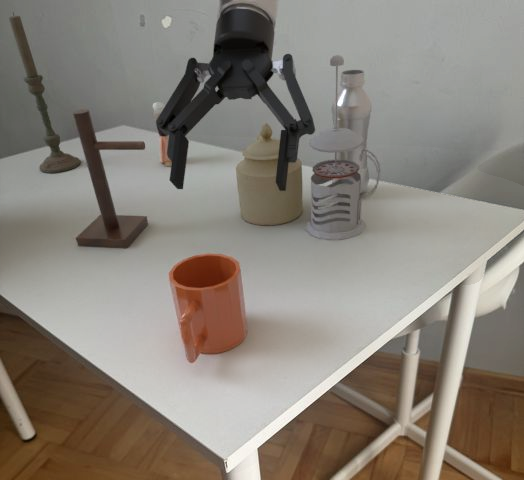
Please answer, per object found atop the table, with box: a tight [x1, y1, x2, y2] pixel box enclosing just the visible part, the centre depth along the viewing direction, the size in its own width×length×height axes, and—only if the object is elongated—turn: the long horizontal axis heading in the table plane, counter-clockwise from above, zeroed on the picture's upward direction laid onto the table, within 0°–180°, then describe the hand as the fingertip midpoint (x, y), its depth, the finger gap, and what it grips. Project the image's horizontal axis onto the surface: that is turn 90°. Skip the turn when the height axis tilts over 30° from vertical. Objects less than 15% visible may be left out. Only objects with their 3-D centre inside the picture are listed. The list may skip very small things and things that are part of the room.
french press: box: [305, 54, 382, 241], centre depth 80 cm, size 10×12×25 cm
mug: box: [168, 252, 248, 364], centre depth 63 cm, size 12×8×9 cm, turn 167°
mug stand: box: [72, 108, 149, 249], centre depth 85 cm, size 14×9×20 cm, turn 77°
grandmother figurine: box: [152, 101, 172, 167], centre depth 114 cm, size 8×4×13 cm, turn 37°
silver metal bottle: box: [331, 69, 372, 195], centre depth 92 cm, size 6×7×20 cm
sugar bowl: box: [235, 122, 304, 226], centre depth 91 cm, size 15×11×15 cm
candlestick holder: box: [8, 11, 81, 174], centre depth 113 cm, size 9×9×30 cm
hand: (227, 186), depth 67 cm, fingers open, 13 cm apart
